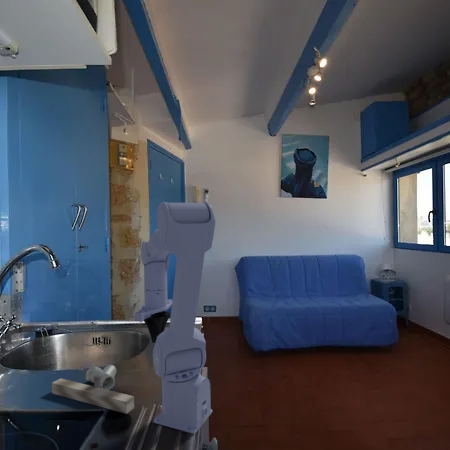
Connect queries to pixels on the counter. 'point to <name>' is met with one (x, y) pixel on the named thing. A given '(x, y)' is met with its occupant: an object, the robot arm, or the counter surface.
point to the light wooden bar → (94, 394)
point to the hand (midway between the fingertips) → (156, 341)
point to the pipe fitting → (106, 374)
